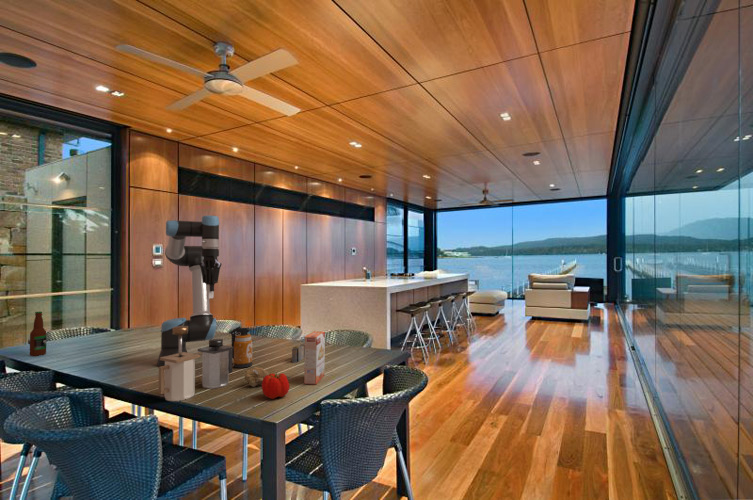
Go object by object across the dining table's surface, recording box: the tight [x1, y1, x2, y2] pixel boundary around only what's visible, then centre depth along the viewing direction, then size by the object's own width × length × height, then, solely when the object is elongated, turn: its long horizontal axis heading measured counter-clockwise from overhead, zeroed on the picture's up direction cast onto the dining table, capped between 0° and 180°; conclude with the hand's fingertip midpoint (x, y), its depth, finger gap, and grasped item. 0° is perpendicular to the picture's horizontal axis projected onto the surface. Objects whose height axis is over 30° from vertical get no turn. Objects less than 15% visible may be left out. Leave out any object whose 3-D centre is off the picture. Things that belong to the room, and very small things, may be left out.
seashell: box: [244, 366, 270, 388], centre depth 175 cm, size 14×8×8 cm, turn 168°
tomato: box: [261, 372, 290, 400], centre depth 158 cm, size 11×11×9 cm
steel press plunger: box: [208, 338, 224, 349], centre depth 174 cm, size 7×7×16 cm
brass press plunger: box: [173, 326, 188, 357], centre depth 159 cm, size 7×7×16 cm
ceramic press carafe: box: [158, 352, 201, 402], centre depth 157 cm, size 10×14×16 cm
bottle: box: [29, 311, 48, 357], centre depth 231 cm, size 7×7×25 cm
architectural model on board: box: [291, 344, 305, 364], centre depth 216 cm, size 11×3×10 cm, turn 166°
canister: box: [230, 326, 253, 369], centre depth 204 cm, size 9×11×20 cm
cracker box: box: [303, 330, 326, 385], centre depth 180 cm, size 14×6×21 cm, turn 172°
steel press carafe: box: [197, 344, 234, 390], centre depth 175 cm, size 10×14×16 cm
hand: (210, 298), depth 188 cm, fingers closed
